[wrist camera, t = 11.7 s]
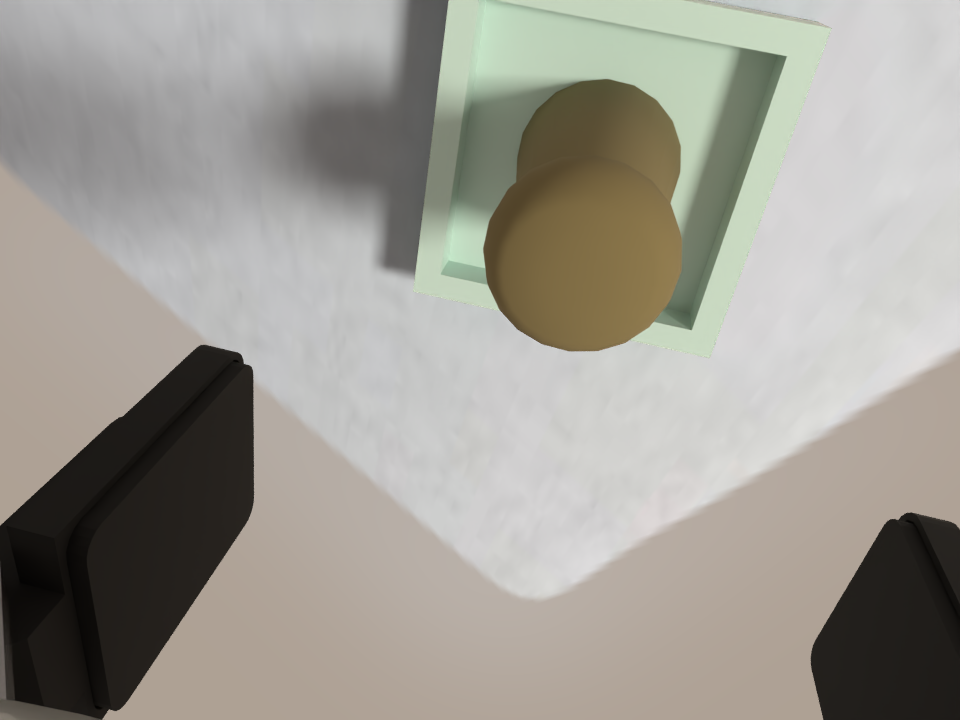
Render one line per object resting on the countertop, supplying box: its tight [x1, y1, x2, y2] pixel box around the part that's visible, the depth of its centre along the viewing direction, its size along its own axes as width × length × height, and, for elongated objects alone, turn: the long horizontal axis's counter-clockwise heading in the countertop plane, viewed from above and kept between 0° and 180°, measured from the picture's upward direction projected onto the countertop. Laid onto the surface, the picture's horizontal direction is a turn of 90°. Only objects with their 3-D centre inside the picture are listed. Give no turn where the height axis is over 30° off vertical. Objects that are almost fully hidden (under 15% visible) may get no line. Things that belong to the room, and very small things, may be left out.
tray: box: [413, 0, 832, 358], centre depth 27 cm, size 12×12×2 cm
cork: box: [483, 79, 682, 351], centre depth 23 cm, size 6×6×11 cm
